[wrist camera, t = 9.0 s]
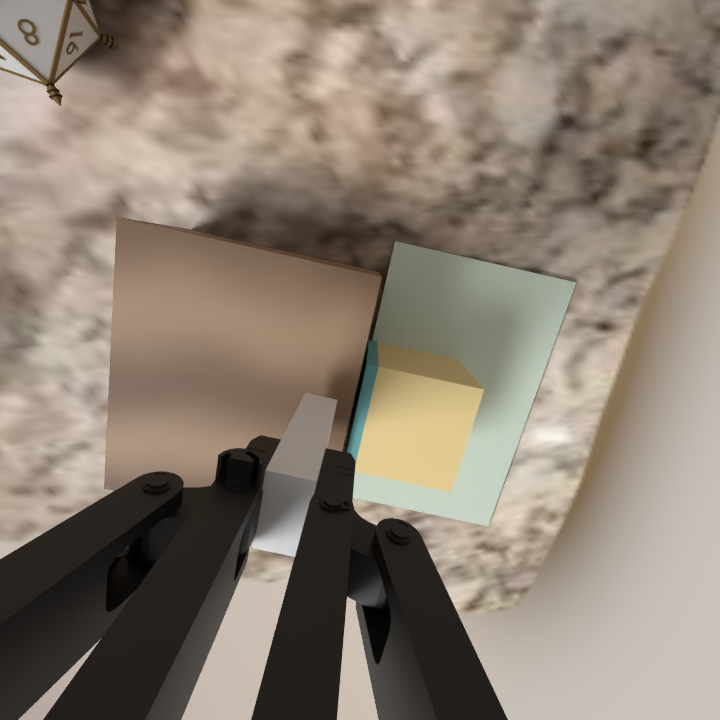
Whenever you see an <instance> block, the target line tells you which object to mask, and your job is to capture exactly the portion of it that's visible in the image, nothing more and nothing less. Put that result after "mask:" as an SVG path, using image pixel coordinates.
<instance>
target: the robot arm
mask: <svg viewBox="0 0 720 720" xmlns="http://www.w3.org/2000/svg"><path fill="white" fill-rule="evenodd" d="M336 405H337V400H336V399H332V398H327V397H322V396H318V395H313V394H309V393H305V394H304V396H303V398H302V400H301V402H300V404H299V406H298V408H297V410H296V412H295V414H294V416H293V418H292V420H291V422H290V424H289V426H288V427H287V429H286V431H285V433H284V435H283V437H282V439H277V438H272V437H267V436H263V435H260V436H258V437H256V438H254V439H252V440H251V441H250V442H249V444H248V445H247V447H246V449H244V448H234V449H229V450H226V451H223V452H222V453H221V454H219V455H218V461H217V469H216V476H215V481H214V482H213V483H212V485H211V486H206V487H183V485H184V482H183V480H182V478H181V477H180V476H178V475H176V474H175V473H171V472H166V471H156V472H151V473H146V474H144V475H141V476H139V477H137V478H135V479H134V480H132V481H130V482H129V483H127V484H125V485H124V486H122V487H120V488H119V489H117V490H115V491H114V492H112V493H110V494H109V495H107V496H105V497H104V498H102V499H100V500H99V501H97V502H95V503H94V504H92V505H90V506H89V507H87V508H85V509H84V510H82V511H80V512H79V513H77V514H75V515H74V516H72V517H70V518H69V519H67V520H65V521H64V522H62V523H60V524H59V525H57V526H55V527H54V528H52V529H50V530H49V531H47V532H45V533H43V534H42V535H40V536H38V537H37V538H35V539H33V540H32V541H30V542H28V543H27V544H25V545H23V546H22V547H20V548H19V549H17V550H15V551H13V552H12V553H10V554H8V555H7V556H5V557H3V558H2V559H0V720H18V719H19V718H20V717H21V716H22V715H23V714H24V713H25V712H26V711H27V710H28V709H29V708H30V707H32V706H33V705H34V703H36V702H37V701H38V700H39V699H40V697H42V696H43V694H45V693H46V692H47V691H48V690H49V689H50V688H51V687H52V686H53V685H54V684H55V683H56V682H57V681H58V680H59V679H60V678H61V677H62V676H63V675H64V674H65V673H66V672H67V671H68V670H69V669H70V668H71V667H72V666H73V665H74V664H75V663H76V662H77V661H78V660H79V659H80V658H81V657H82V656H84V655H85V653H87V652H88V651H89V650H90V649H91V648H92V647H93V646H94V645H95V644H96V643H97V642H98V641H99V640H100V639H101V640H100V641H99V643H98V644H97V645H96V647H95V648H94V650H93V651H92V652H91V654H90V655H89V657H88V658H87V659H86V661H85V662H84V664H83V665H82V666H81V668H80V669H79V671H78V672H77V673H76V675H75V676H74V677H73V679H72V680H71V682H70V683H69V684H68V686H67V687H66V689H65V690H64V692H63V693H62V694H61V696H60V697H59V699H58V700H57V701H56V703H55V704H54V705H53V707H52V708H51V710H50V711H49V712H48V714H47V715H46V717H45V718H44V719H43V720H181V719H182V716H183V714H184V711H185V709H186V707H187V704H188V702H189V699H190V697H191V695H192V692H193V690H194V687H195V685H196V683H197V680H198V678H199V675H200V673H201V671H202V668H203V666H204V663H205V661H206V659H207V655H208V654H209V651H210V649H211V647H212V644H213V642H214V639H215V637H216V635H217V632H218V630H219V627H220V625H221V623H222V620H223V618H224V615H225V612H226V610H227V608H228V606H229V603H230V601H231V599H232V596H233V594H234V591H235V589H236V586H237V584H238V582H239V579H240V577H241V575H242V572H243V570H244V567H245V565H246V563H247V558H248V552H249V547H250V545H251V542H252V540H253V538H254V540H253V546H252V548H255V549H260V550H264V551H269V552H274V553H279V554H284V555H289V556H293V557H295V559H294V563H293V566H292V570H291V574H290V577H289V581H288V585H287V589H286V592H285V596H284V600H283V604H282V607H281V611H280V615H279V619H278V622H277V626H276V630H275V633H274V637H273V641H272V645H271V648H270V652H269V656H268V659H267V663H266V667H265V671H264V675H263V678H262V682H261V686H260V689H259V693H258V697H257V700H256V704H255V708H254V712H253V716H252V719H251V720H337V709H338V697H339V685H340V673H341V661H342V648H343V636H344V625H345V612H346V600H347V596H348V597H349V598H351V599H353V600H355V601H356V610H357V615H358V620H359V625H360V629H361V635H362V639H363V644H364V650H365V654H366V659H367V664H368V669H369V674H370V679H371V684H372V688H373V694H374V698H375V703H376V708H377V713H378V718H379V720H508V719H507V717H506V715H505V713H504V711H503V709H502V706H501V705H500V702H499V700H498V698H497V696H496V694H495V692H494V690H493V687H492V685H491V684H490V681H489V679H488V677H487V675H486V673H485V671H484V668H483V666H482V664H481V662H480V660H479V658H478V656H477V654H476V651H475V649H474V647H473V645H472V643H471V641H470V639H469V637H468V635H467V633H466V630H465V628H464V626H463V624H462V622H461V620H460V618H459V615H458V613H457V611H456V609H455V607H454V605H453V603H452V601H451V599H450V596H449V594H448V592H447V590H446V588H445V586H444V584H443V582H442V580H441V577H440V575H439V573H438V571H437V569H436V567H435V565H434V563H433V560H432V558H431V556H430V554H429V552H428V550H427V548H426V546H425V544H424V541H423V539H422V537H421V535H420V534H419V532H418V531H417V530H416V528H414V527H413V526H412V525H410V524H409V523H407V522H405V521H403V520H400V519H394V518H389V519H384V520H382V521H380V522H379V523H378V525H377V526H376V525H374V524H372V523H370V522H368V521H366V520H364V519H363V518H362V517H360V516H359V515H358V514H357V513H356V511H355V510H354V506H353V503H352V499H353V488H354V476H355V465H356V461H355V459H354V458H353V456H352V454H351V453H347V452H342V451H337V450H333V449H328V448H327V446H328V442H329V437H330V432H331V428H332V423H333V419H334V414H335V409H336Z"/></svg>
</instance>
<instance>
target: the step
mask: <svg viewBox="0 0 720 720" xmlns="http://www.w3.org/2000/svg"><path fill="white" fill-rule="evenodd" d="M381 279H382V276H381V274H380V272H376V271H372V270H367V269H363V268H359V267H354V266H350V265H345V264H341V263H336V262H332V261H328V260H323V259H319V258H314V257H310V256H305V255H301V254H297V253H292V252H288V251H283V250H279V249H274V248H270V247H266V246H261V245H257V244H252V243H248V242H243V241H239V240H235V239H230V238H226V237H221V236H217V235H212V234H208V233H204V232H199V231H195V230H190V229H184V228H178V227H172V226H166V225H160V224H154V223H149V222H143V221H137V220H131V219H125V218H119V217H117V227H116V248H115V269H114V291H113V312H112V333H111V354H110V376H109V397H108V418H107V439H106V461H105V482H104V489H108V490H113V491H115V490H117V489H119V488H120V487H122V486H124V485H125V484H127V483H129V482H130V481H132V480H134V479H135V478H137V477H139V476H141V475H144V474H146V473H151V472H156V471H166V472H171V473H175V474H176V475H178V476H180V477H181V478H182V480H183V482H184V485H183V487H206V486H211V485H212V483H213V482H214V481H215V476H216V469H217V461H218V455H219V454H221V453H222V452H223V451H226V450H229V449H234V448H244V449H246V447H247V445H248V444H249V442H250V441H251V440H252V439H254V438H256V437H258V436H260V435H263V436H267V437H272V438H277V439H282V437H283V435H284V433H285V431H286V429H287V427H288V426H289V424H290V422H291V420H292V418H293V416H294V414H295V412H296V410H297V408H298V406H299V404H300V402H301V400H302V398H303V396H304V394H305V393H309V394H313V395H318V396H322V397H327V398H332V399H336V400H337V405H336V409H335V414H334V419H333V423H332V428H331V432H330V437H329V442H328V446H327V448H328V449H333V450H337V451H342V450H343V446H344V441H345V437H346V432H347V428H348V424H349V419H350V415H351V411H352V406H353V402H354V397H355V393H356V389H357V384H358V380H359V376H360V371H361V367H362V363H363V358H364V354H365V349H366V345H367V341H368V336H369V332H370V328H371V323H372V319H373V314H374V310H375V306H376V301H377V297H378V293H379V288H380V284H381Z"/></svg>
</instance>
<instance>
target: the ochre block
mask: <svg viewBox="0 0 720 720" xmlns="http://www.w3.org/2000/svg"><path fill="white" fill-rule="evenodd" d="M483 392H484V389H483V387H482V386H481V385H480V384H479V383H478V382H477V381H476V379H475V378H474V377H473V376H472V375H471V374H470V372H469V371H468V370H467V369H466V368H465V367H464V365H463V364H462V363H461V362H460V361H459V360H458V359H455V358H450V357H446V356H441V355H437V354H432V353H428V352H423V351H418V350H414V349H409V348H405V347H400V346H396V345H391V344H386V343H382V342H377V341H373V340H368V344H367V348H366V352H365V357H364V361H363V366H362V370H361V375H360V379H359V383H358V388H357V392H356V397H355V401H354V405H353V410H352V414H351V419H350V423H349V430H348V437H347V444H346V450H345V452H347V453H351V454H352V456H353V458H354V459H355V461H356V465H355V472H358V473H362V474H367V475H372V476H377V477H381V478H386V479H391V480H396V481H400V482H405V483H410V484H415V485H419V486H424V487H429V488H433V489H438V490H443V491H448V492H452V489H453V486H454V483H455V480H456V477H457V473H458V470H459V467H460V464H461V461H462V458H463V455H464V452H465V448H466V445H467V442H468V439H469V436H470V433H471V430H472V427H473V423H474V420H475V417H476V414H477V411H478V408H479V405H480V402H481V398H482V395H483Z"/></svg>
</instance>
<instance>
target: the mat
mask: <svg viewBox="0 0 720 720" xmlns="http://www.w3.org/2000/svg"><path fill="white" fill-rule="evenodd" d="M575 285H576V282H572V281H568V280H563V279H559V278H555V277H550V276H546V275H541V274H537V273H533V272H528V271H524V270H520V269H515V268H511V267H506V266H502V265H498V264H493V263H489V262H484V261H480V260H476V259H471V258H467V257H463V256H458V255H454V254H449V253H445V252H441V251H436V250H432V249H427V248H423V247H419V246H414V245H410V244H405V243H401V242H397V241H395V243H394V248H393V252H392V256H391V261H390V265H389V269H388V274H387V278H386V282H385V286H384V291H383V295H382V299H381V304H380V308H379V312H378V317H377V321H376V325H375V330H374V334H373V338H372V340H373V341H377V342H382V343H386V344H391V345H396V346H400V347H405V348H409V349H414V350H418V351H423V352H428V353H432V354H437V355H441V356H446V357H450V358H455V359H458V360H459V361H460V362H461V363H462V364H463V365H464V367H465V368H466V369H467V370H468V371H469V372H470V374H471V375H472V376H473V377H474V378H475V379H476V381H477V382H478V383H479V384H480V385H481V386H482V387H483V389H484V392H483V395H482V398H481V402H480V405H479V408H478V411H477V414H476V417H475V420H474V423H473V427H472V430H471V433H470V436H469V439H468V442H467V445H466V448H465V452H464V455H463V458H462V461H461V464H460V467H459V470H458V473H457V477H456V480H455V483H454V486H453V489H452V492H448V491H443V490H438V489H433V488H429V487H424V486H419V485H415V484H410V483H405V482H400V481H396V480H391V479H386V478H381V477H377V476H372V475H367V474H362V473H358V472H355V476H354V488H353V498H357V499H362V500H367V501H371V502H376V503H381V504H386V505H390V506H395V507H400V508H404V509H409V510H414V511H419V512H423V513H428V514H433V515H437V516H442V517H447V518H452V519H456V520H461V521H466V522H470V523H475V524H480V525H485V526H488V525H489V523H490V520H491V517H492V514H493V512H494V509H495V506H496V503H497V501H498V498H499V495H500V492H501V490H502V487H503V484H504V481H505V479H506V476H507V473H508V470H509V467H510V465H511V462H512V459H513V456H514V454H515V451H516V448H517V445H518V443H519V440H520V437H521V434H522V432H523V429H524V426H525V423H526V420H527V418H528V415H529V412H530V409H531V407H532V404H533V401H534V398H535V396H536V393H537V390H538V387H539V385H540V382H541V379H542V376H543V373H544V371H545V368H546V365H547V362H548V360H549V357H550V354H551V351H552V349H553V346H554V343H555V340H556V338H557V335H558V332H559V329H560V326H561V324H562V321H563V318H564V315H565V313H566V310H567V307H568V304H569V302H570V299H571V296H572V293H573V291H574V288H575Z"/></svg>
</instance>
